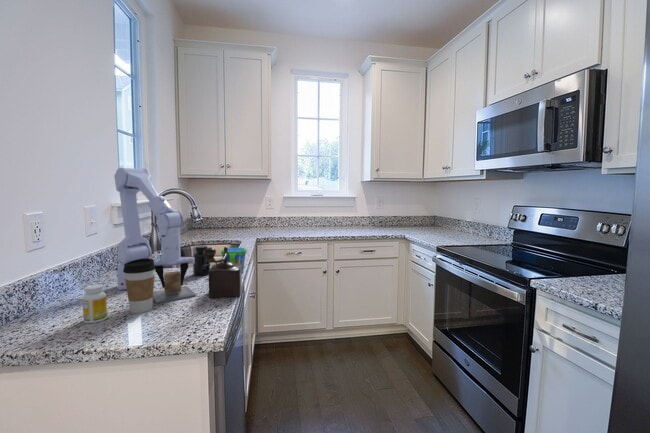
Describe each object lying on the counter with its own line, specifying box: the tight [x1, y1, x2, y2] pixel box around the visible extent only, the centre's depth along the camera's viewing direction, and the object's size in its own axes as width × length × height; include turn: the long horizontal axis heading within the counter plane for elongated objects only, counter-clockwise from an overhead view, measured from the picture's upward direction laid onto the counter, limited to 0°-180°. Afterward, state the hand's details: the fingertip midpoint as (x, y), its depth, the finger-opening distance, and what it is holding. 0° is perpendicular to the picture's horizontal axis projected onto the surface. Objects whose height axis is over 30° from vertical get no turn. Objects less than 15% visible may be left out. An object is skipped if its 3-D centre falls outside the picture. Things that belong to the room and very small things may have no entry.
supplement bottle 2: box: [192, 245, 211, 277], centre depth 136 cm, size 7×7×12 cm
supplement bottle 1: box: [82, 284, 108, 324], centre depth 89 cm, size 5×5×10 cm
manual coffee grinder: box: [203, 246, 243, 299], centre depth 109 cm, size 16×11×18 cm
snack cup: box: [220, 247, 247, 273], centre depth 139 cm, size 16×11×10 cm
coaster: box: [153, 285, 197, 305], centre depth 110 cm, size 12×12×1 cm
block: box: [163, 270, 182, 294], centre depth 109 cm, size 5×5×6 cm
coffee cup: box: [123, 257, 155, 314], centre depth 96 cm, size 8×8×15 cm
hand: (172, 286), depth 109 cm, fingers closed on block, 5 cm apart
